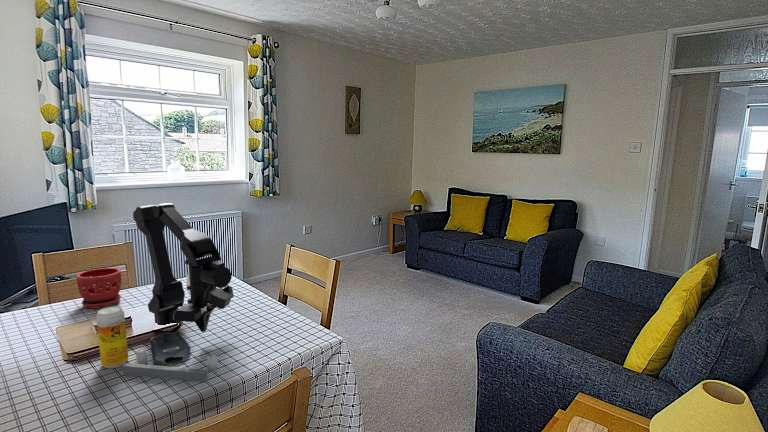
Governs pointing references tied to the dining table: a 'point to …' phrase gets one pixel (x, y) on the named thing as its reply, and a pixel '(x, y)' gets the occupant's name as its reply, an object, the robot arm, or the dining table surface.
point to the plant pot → (99, 287)
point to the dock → (168, 369)
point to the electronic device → (169, 347)
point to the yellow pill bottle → (112, 336)
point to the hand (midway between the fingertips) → (203, 331)
